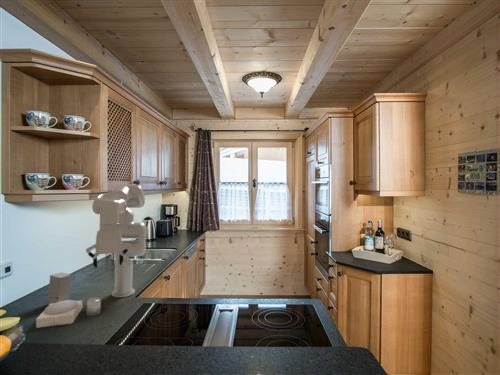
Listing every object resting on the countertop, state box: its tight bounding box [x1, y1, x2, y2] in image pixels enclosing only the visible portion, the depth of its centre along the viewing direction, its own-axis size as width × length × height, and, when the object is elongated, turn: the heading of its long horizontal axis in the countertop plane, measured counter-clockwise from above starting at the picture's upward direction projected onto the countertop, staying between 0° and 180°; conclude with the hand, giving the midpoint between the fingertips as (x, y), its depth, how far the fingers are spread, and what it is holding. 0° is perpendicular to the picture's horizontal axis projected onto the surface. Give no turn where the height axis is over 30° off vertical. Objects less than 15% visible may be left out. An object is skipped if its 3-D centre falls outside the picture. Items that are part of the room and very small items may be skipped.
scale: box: [35, 299, 83, 328], centre depth 126 cm, size 17×14×5 cm
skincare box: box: [46, 272, 72, 306], centre depth 140 cm, size 8×7×16 cm
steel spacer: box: [86, 296, 102, 317], centre depth 131 cm, size 6×6×7 cm
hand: (108, 265), depth 115 cm, fingers open, 9 cm apart
